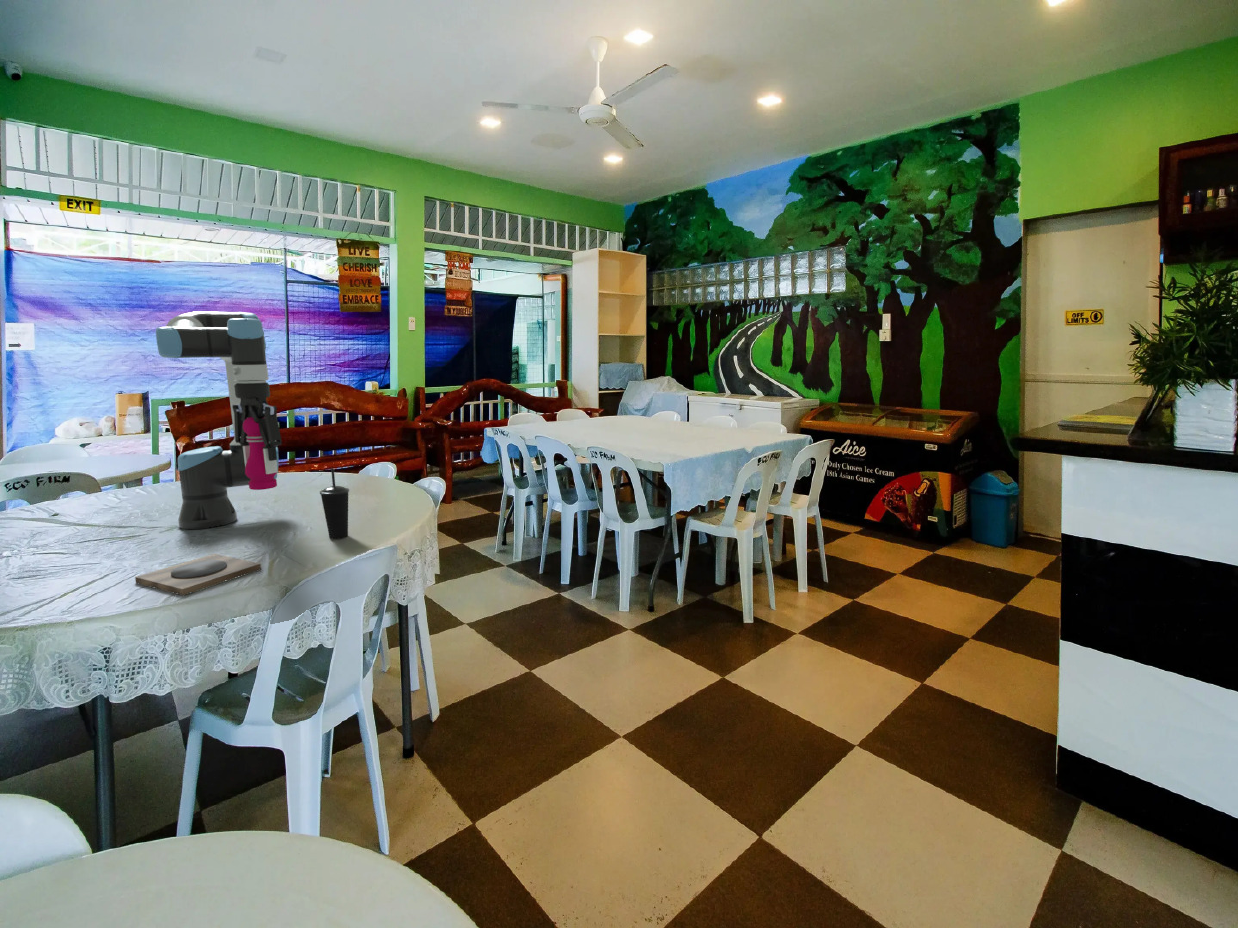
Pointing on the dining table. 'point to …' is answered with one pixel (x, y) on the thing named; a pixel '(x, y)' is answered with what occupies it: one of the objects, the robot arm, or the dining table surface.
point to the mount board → (197, 574)
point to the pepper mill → (257, 458)
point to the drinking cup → (336, 509)
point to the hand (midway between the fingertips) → (261, 471)
